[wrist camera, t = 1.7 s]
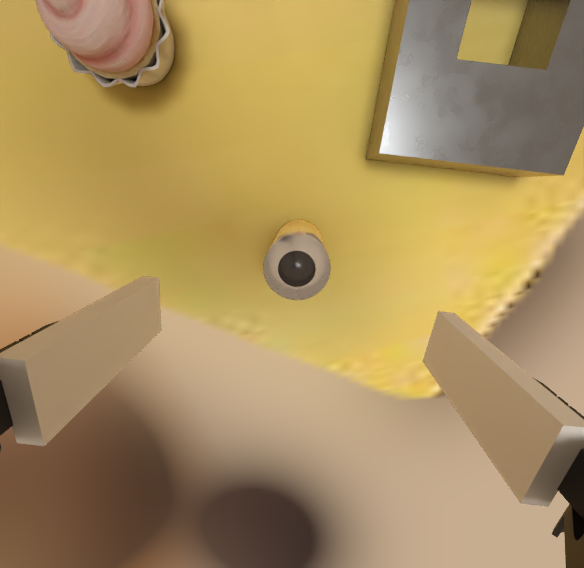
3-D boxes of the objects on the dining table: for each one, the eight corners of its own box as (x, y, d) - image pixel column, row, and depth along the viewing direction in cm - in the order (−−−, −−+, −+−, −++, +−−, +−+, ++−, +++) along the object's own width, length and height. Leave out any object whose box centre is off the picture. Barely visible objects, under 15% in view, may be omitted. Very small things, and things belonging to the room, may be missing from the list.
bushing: (278, 217, 29) (266, 231, 20) (325, 222, 29) (335, 239, 20) (273, 262, 31) (260, 296, 22) (318, 268, 31) (325, 303, 22)
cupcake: (188, 117, 27) (124, 79, 17) (89, 91, 26) (-30, 37, 17) (200, -6, 24) (132, -135, 14) (89, -38, 23) (-58, -192, 14)
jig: (420, -136, 21) (454, -232, 16) (621, -112, 21) (716, -200, 16) (366, 158, 27) (379, 153, 22) (518, 177, 27) (563, 175, 23)
